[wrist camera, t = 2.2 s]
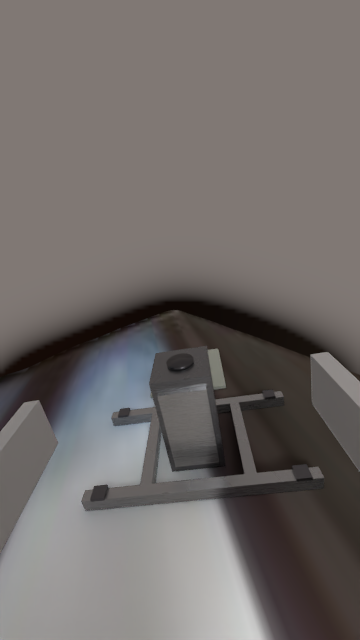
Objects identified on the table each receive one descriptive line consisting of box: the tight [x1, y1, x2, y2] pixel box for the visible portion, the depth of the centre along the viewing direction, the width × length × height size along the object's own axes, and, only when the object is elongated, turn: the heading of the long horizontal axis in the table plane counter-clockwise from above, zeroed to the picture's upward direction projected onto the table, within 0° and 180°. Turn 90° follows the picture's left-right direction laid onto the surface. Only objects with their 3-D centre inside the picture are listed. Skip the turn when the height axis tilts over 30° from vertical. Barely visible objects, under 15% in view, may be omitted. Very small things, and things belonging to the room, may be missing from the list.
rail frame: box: [81, 389, 324, 511], centre depth 28 cm, size 20×11×2 cm, turn 88°
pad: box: [150, 349, 226, 398], centre depth 41 cm, size 10×10×1 cm
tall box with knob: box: [149, 346, 225, 472], centre depth 26 cm, size 5×6×10 cm
